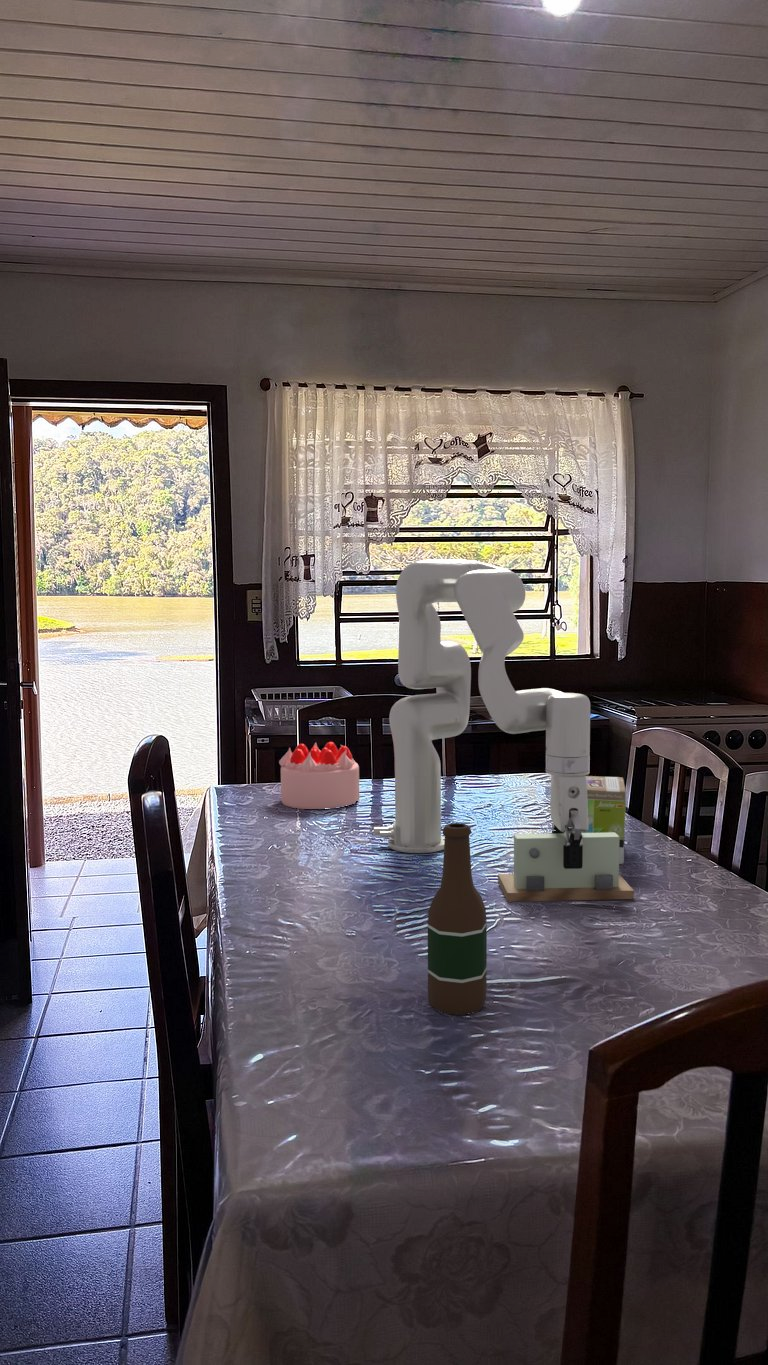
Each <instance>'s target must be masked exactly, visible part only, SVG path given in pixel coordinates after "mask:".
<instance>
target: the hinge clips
mask: <svg viewBox="0 0 768 1365" xmlns="http://www.w3.org/2000/svg"><path fill="white" fill-rule="evenodd" d="M595 890H613V875H595ZM526 891H527V892H530V891H544V876H526Z"/></svg>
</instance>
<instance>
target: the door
mask: <svg viewBox="0 0 768 1365" xmlns="http://www.w3.org/2000/svg"><path fill="white" fill-rule="evenodd" d="M570 835H571V834H569V838H570ZM581 835H582V841H583V864H582V868H581V869H565V868H564V867H563V845H565V838H564V833H554V834H552V833H513V874H514V885H515V887H516V889H526V876H544V888H591V887H595V875H613V887H619V875H620V864H619V836H618V835H617V834H616V833H615V832H609V833H581Z"/></svg>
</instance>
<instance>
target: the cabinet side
mask: <svg viewBox="0 0 768 1365" xmlns="http://www.w3.org/2000/svg"><path fill="white" fill-rule="evenodd" d="M497 879H498V880H497V882H498V884H499V887H500V889H501V890H502V894H503V895H504V897H505V900H506V901H507V902H547V901H548V902H551V901H552V902H553V901H556V902H558V901H596V900H597V901H598V900H600V901H601V900H603V901H604V900H634V897H635V896H634V895H635V890H634V889H633V888H632V887H631V886H630V885H629V883H628V882H627V881H626V880H625V879H624V878H623V877H622V876H621V875H620V874H619V887H613V890H595V887H591V888H544V891H530V892H527V891H526V889H516V887H515V885H514V873H498V874H497Z"/></svg>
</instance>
